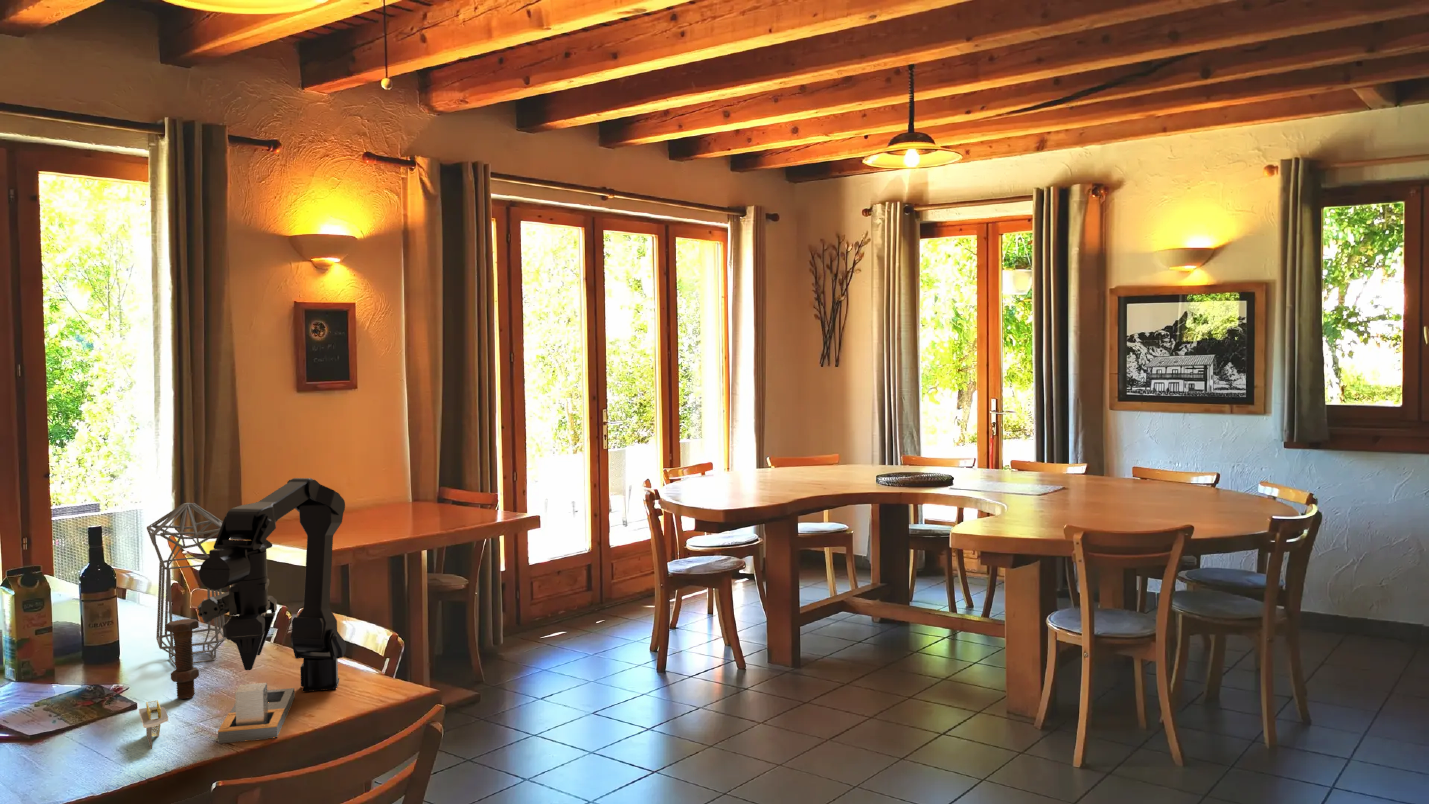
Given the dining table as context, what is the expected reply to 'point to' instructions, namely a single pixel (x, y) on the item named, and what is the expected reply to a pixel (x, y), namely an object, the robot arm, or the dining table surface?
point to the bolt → (183, 656)
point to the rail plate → (276, 716)
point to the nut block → (251, 704)
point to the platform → (152, 720)
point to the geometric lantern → (158, 528)
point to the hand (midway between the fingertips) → (252, 662)
